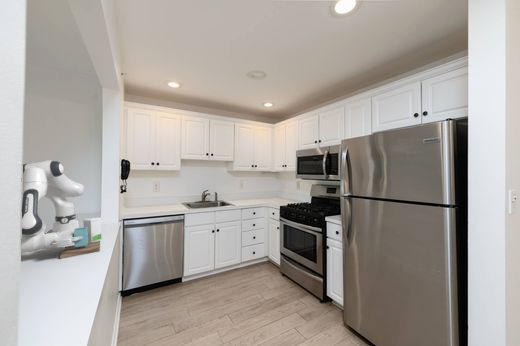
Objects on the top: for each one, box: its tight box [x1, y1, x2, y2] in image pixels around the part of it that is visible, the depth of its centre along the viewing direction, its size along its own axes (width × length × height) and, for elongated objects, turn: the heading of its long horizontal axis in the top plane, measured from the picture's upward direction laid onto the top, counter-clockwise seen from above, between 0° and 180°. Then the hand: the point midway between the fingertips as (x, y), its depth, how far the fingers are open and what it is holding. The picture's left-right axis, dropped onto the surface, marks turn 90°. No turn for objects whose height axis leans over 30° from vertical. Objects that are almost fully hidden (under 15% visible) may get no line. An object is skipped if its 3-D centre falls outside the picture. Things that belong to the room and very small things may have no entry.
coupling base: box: [59, 240, 101, 260], centre depth 138 cm, size 18×18×10 cm
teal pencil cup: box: [73, 226, 88, 247], centre depth 137 cm, size 6×6×10 cm
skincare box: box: [83, 217, 103, 243], centre depth 154 cm, size 8×7×16 cm
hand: (83, 235), depth 138 cm, fingers closed on teal pencil cup, 6 cm apart
